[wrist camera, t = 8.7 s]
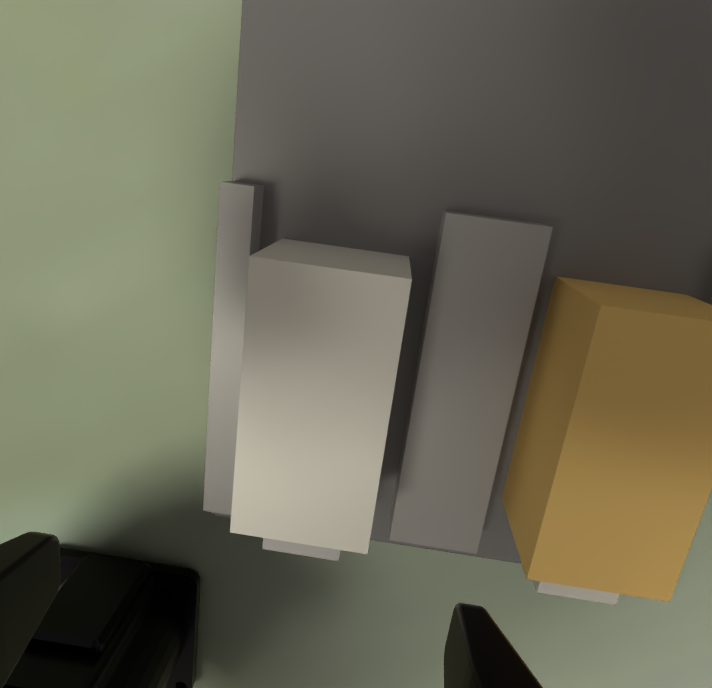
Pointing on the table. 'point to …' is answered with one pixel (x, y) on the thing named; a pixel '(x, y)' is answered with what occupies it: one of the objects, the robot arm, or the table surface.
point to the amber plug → (613, 442)
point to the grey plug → (316, 394)
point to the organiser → (464, 206)
